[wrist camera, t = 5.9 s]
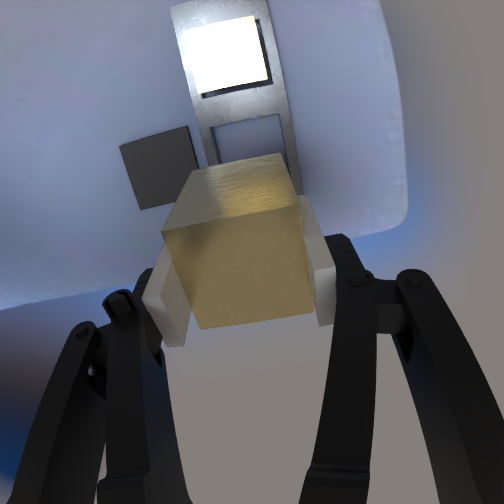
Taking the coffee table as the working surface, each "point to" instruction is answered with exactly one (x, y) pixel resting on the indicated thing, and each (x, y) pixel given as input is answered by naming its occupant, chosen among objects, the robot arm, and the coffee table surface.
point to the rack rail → (241, 101)
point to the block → (225, 54)
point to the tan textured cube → (240, 243)
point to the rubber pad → (159, 166)
